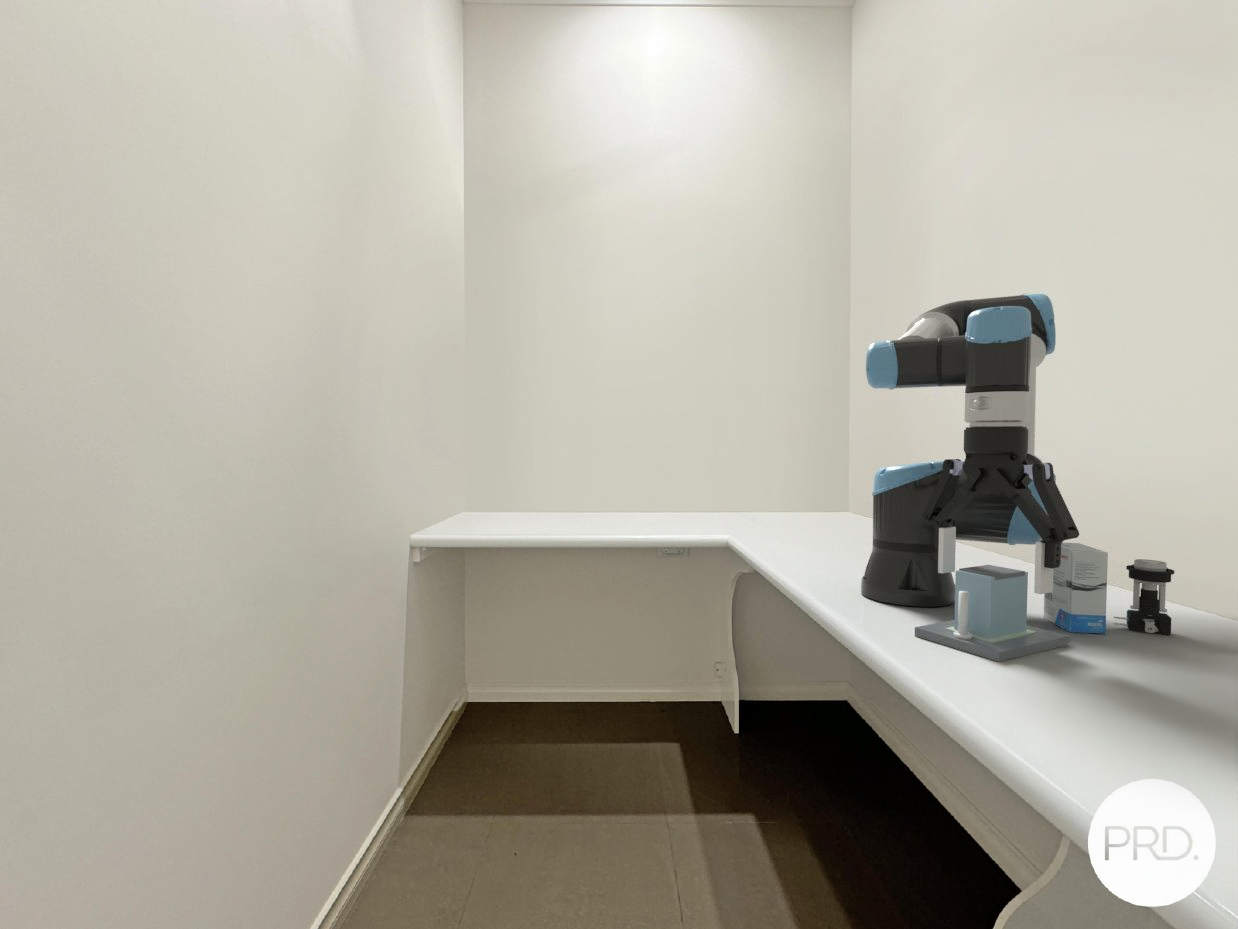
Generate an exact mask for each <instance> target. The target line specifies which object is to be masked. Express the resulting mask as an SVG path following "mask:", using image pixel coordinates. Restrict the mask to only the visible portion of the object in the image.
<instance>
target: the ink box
mask: <svg viewBox="0 0 1238 929" xmlns="http://www.w3.org/2000/svg"><path fill="white" fill-rule="evenodd" d="M1108 556H1109V553H1108V552H1107V551H1103V550H1101V549H1097V548H1096V547H1095V548H1094V547H1092V546H1088V545H1085V544H1083V543H1080V542H1064V541H1063V542H1062V543H1061V564H1060V566H1059V567H1058V568H1054V570H1053V592H1049V593H1045V594H1043V595H1044V597H1043V598H1044V599H1043V600H1044V601H1043V618H1045V619H1046V620H1048V621H1050V622H1051V623H1053V624H1055V625H1057V626H1058V627H1060V628H1061V629H1064V630H1065V631H1067V632H1069V633H1080V634H1081V633H1086V634H1101V635H1102V634H1103V635H1104V634H1106V631H1107V630H1106V627H1107V626H1106V625H1107V624H1106V623H1107V599H1108V598H1107V594H1108V591H1107V589H1108V559H1109V558H1108Z"/></svg>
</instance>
